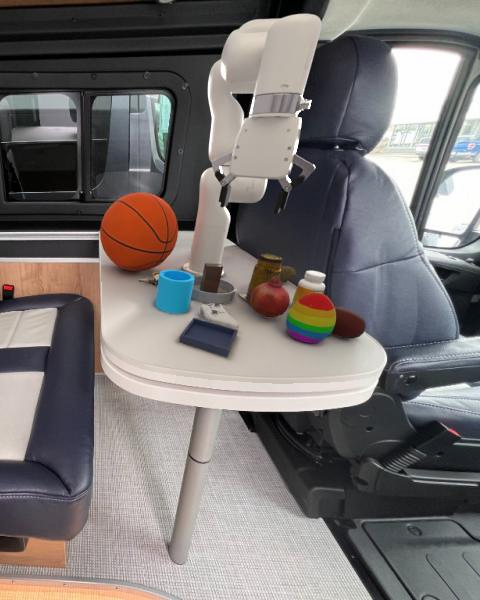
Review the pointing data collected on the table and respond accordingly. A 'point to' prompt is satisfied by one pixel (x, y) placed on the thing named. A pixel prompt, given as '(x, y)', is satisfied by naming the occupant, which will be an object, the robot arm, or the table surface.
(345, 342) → the table surface
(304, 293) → the supplement bottle
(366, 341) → the table surface
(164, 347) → the table surface
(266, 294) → the fruit
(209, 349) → the tray
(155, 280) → the computer mouse
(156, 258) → the basket ball
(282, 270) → the hand grenade
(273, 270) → the condiment
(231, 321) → the gaming controller
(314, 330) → the decorative egg
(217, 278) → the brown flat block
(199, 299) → the bowl
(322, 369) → the table surface
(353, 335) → the potato
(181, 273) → the mug
